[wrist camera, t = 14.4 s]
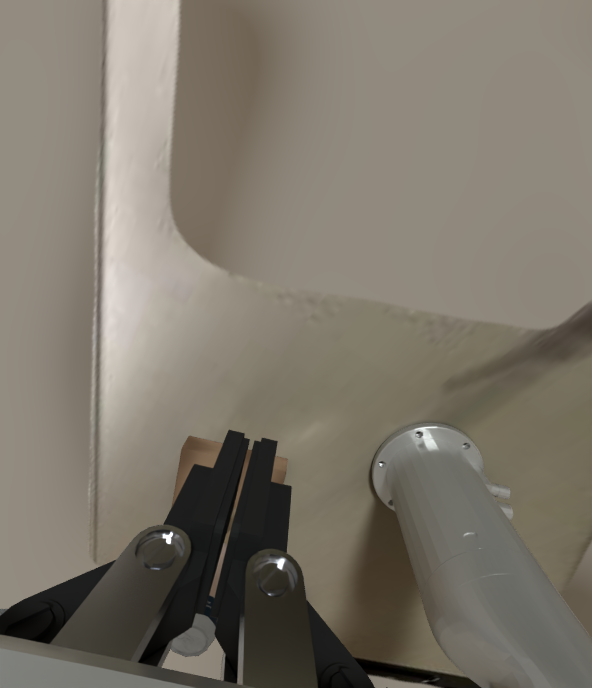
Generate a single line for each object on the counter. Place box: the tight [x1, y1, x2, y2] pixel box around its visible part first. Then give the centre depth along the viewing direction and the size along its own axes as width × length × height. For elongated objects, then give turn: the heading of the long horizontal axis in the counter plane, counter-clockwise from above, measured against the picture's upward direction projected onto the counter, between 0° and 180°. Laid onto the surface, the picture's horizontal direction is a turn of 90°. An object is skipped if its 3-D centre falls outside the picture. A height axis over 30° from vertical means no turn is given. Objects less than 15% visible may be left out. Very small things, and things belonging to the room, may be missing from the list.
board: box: [172, 436, 288, 544], centre depth 43 cm, size 12×18×6 cm, turn 166°
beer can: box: [170, 543, 227, 657], centre depth 38 cm, size 5×5×12 cm
